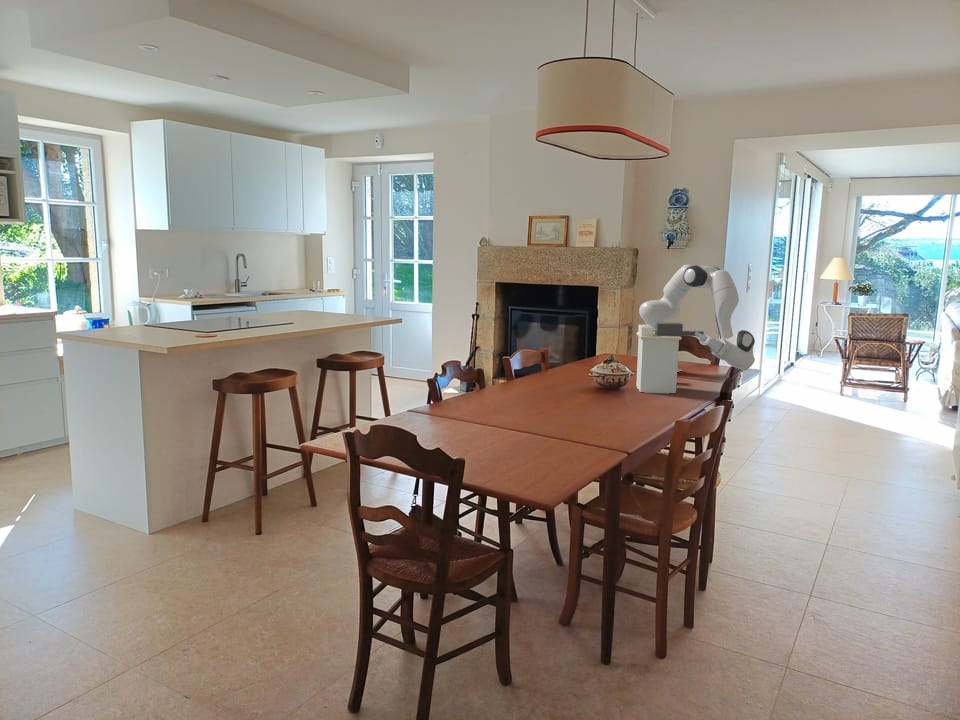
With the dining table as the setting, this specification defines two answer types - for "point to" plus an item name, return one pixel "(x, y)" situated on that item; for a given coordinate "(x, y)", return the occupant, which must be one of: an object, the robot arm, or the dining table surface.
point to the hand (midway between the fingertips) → (694, 332)
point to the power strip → (645, 330)
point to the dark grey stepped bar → (672, 329)
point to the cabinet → (657, 363)
